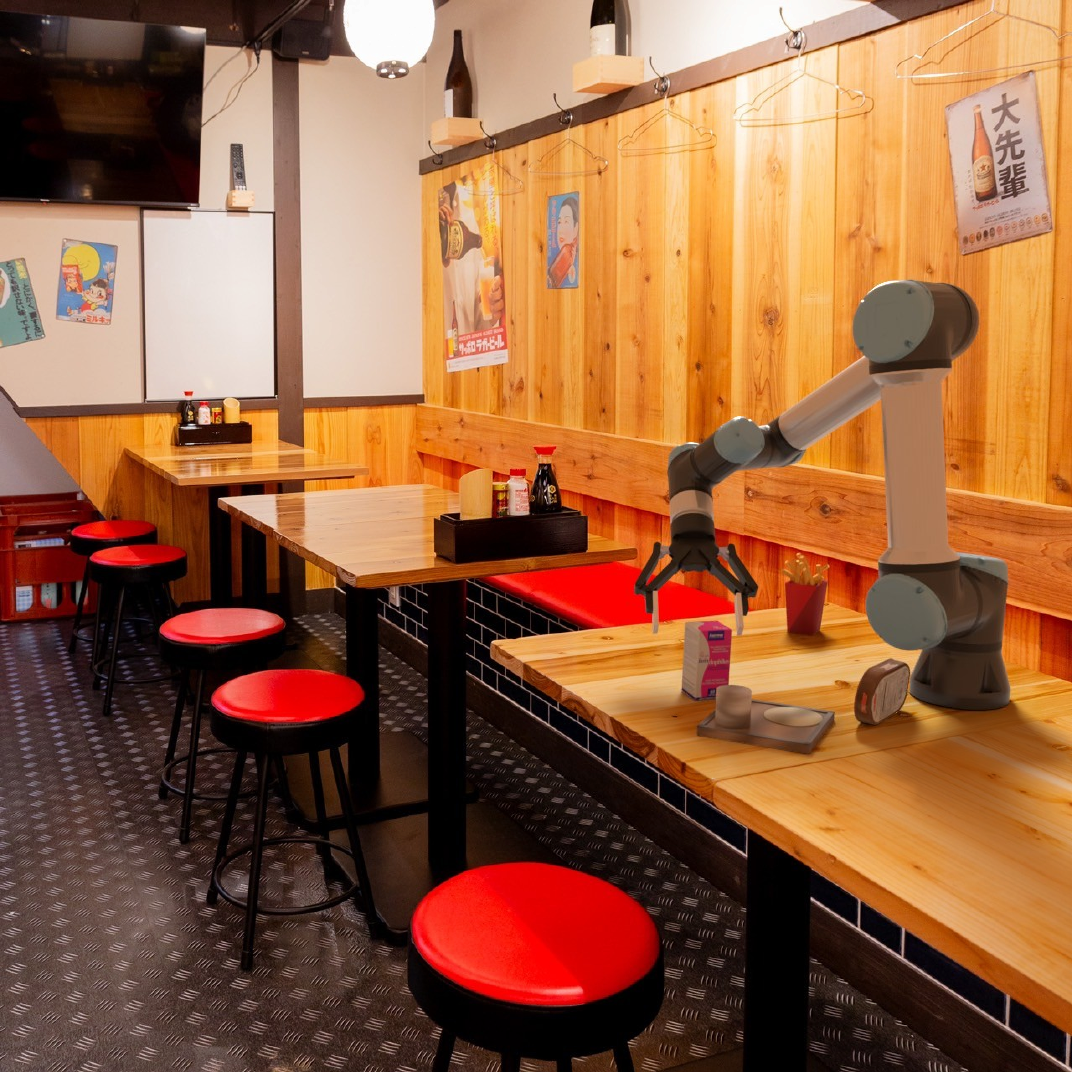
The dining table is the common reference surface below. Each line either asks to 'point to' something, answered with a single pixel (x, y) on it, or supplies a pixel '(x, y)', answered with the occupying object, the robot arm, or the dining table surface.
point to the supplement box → (705, 658)
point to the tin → (881, 691)
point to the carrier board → (764, 721)
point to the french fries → (804, 596)
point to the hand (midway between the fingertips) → (698, 630)
